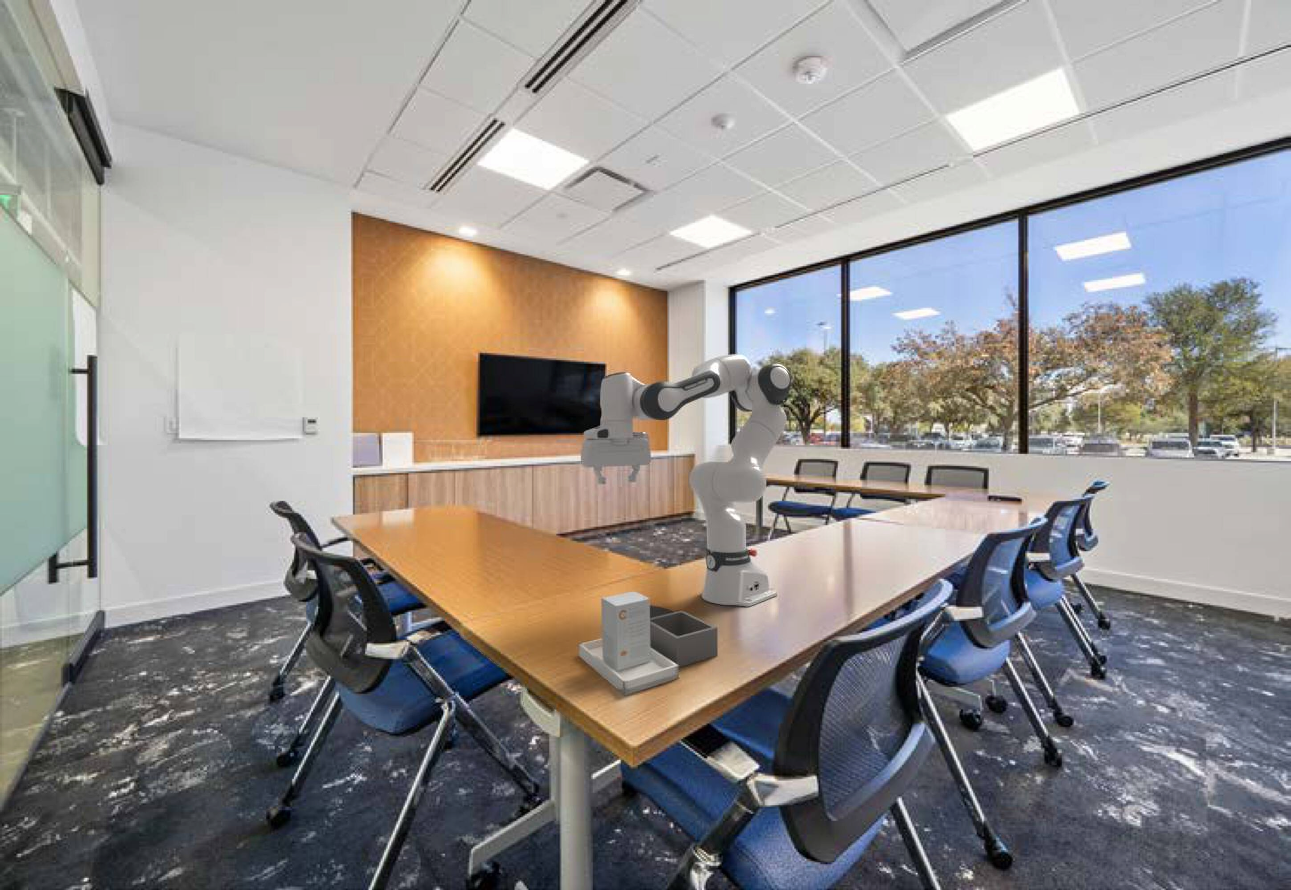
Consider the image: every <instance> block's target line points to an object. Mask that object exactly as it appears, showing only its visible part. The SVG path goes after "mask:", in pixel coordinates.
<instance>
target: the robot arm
mask: <svg viewBox="0 0 1291 890" xmlns="http://www.w3.org/2000/svg"><path fill="white" fill-rule="evenodd" d="M791 387H792V376H791V373H790V371H789V369H787V368H786V367H785V366H784V365H783V364H779V363H770V364H767V365H764V366H763V367H761V368H759V369H757V370H754V369H753V368H752V366H751V363H750V361H749V359H748V358H747V357H746V356H744V354H743V355H742V354H740V353H733V354H726V355H721V356H717V357H714V358H711V359H708V360H706V361H704V362H702V363H700V364H698V365H697V366H695V367H694V368H693V370H692V373H691V377H688V378H685V379H683V380H680V381H678V382H677V381H676V382H669V381H663V380H662V381H657V382H653V383H651V384H646V383H644V382H643V383H642V382H641V381H639V380H637V379H636V378H635V377H633V376H632V375H631V373H630V372H627V371H620V372H616V373H615V372H614V373H611V374H610V373H609V374H607V375H605V376H604V377H603V378H602V380H601V385H600V392H599V393H600V394H599V395H600V397H599V399H600V401H599V406H600V408H601V409H600V410H601V417H600V425H598V426H596V427H594V428H590V429H588V430H585V431H584V432H583V438H584V439H585V440H584V441H583V442H582V444H581V449H580V464H581V465H582V467H584V468H593V471H594V472H593V473H594V474H595V476H596V477H597V484H598V485H606V480H607V478H606V477H604V476H603V475H602V473H601V472H602V471H603V468H606V467H607V468H608V467H625V466H626V467H628V466H629V467H630V466H631V470H632V472H631V474H629V475H628V479H627V481H628V483H636V482H637V476H638V473H639V472H640V467H641V466H649V465H650V464H651V462H652V453H651V446H650V442H651V440H650V436H649V435H648V434H647V433H646V432H644V431H640V432H638V431H634V419H635V420H639V421H654V420H655V421H666V420H669V419H671V418H673V417H674V416H675V415H676V414H677V413H678V412H679V411H680V410H681V409H682V408H683V407H684V406H686V405H687V404H689V403H692V402H694V401H697V400H699V399H701V398H702V399H709V398H710V399H711V398H716V397H718V396H722V395H725V394H726V393H728V394H729V395H730V396H731V400H732V403H733V404H734V406H735V407H736V408H737V409H738V410H740V411H741V412H744V413H750V412H751V413H750V415H749V418H748V419H747V420H746V421H745V423H744V424H743V425H742V427H741V428H740V430H739V431H738V432H737V434H736V435H735V436H734V438H733V439H731V440H732V441H731V443H730V445H731V447H730V448H731V452H732V453H733V456H732V458H731V459H730V460H728V461H726V462H723V461H706V462H703V463H698V464H697V465H695V466H694V467H693V468H692V469H691V471H690V474H689V485H690V488H691V490H692V491H693V492H694V494H695V495H696V496H697V498H698V499H699V502H700V505H701V508H702V510H703V513H704V517H705V523H706V548H705V563H706V570H705V571H706V572H705V579H704V584H703V585H704V586H703V590H702V593H701V598H702V599H703V600H704V601H706V602H708V603H712V604H717V605H723V606H739V607H741V606H742V607H751V606H754V605H756V604H759V603H761V602H764V601H766V600H769V599H771V598H774V597H776V596H778V591H777V590H776V589H775V588H773V587H771V586H770V581H769V576H768V574H767V573H766V572H765V570H763V569H762V568H760V567H759V566H758V565H757V564H755V563H754V561H752V559H751V557H754V558H755V557H757V555H758V550H757V549H753V548H749V549H748V548H747V533H746V532H747V525H746V524H747V523H746V521H745V519H744V518H743V517H742V516H741V515H740V514H739V512H738V511H737V508H736V507H735V503H739V504H744V503H752V502H756V501H757V502H758V501H759V500H760V499H761V498H762V497H763V495H764V494H765V492H766V489H767V478H766V475H765V472H764V471H763V466H764V462H765V461H766V459H767V457H769V454H770V453H771V451H772V450H773V449H774V447H775V445H776V444H777V442H779V439H780V438H781V436H782V433H783V431H784V429H785V427H786V424H787V420H788V419H787V418H788V416H787V414H786V412H785V410H784V409H783V408H782V406H781V405H784V404H786V402H787V401H788V397H789V393H790V390H791Z"/></svg>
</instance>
